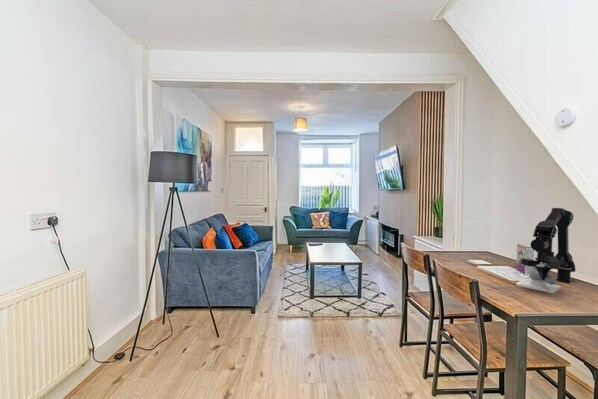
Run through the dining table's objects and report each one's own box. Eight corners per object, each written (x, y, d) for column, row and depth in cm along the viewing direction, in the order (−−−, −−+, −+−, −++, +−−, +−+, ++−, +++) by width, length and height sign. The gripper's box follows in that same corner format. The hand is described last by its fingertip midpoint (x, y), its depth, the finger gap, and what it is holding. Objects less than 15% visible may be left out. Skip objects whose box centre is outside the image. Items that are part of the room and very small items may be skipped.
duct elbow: (526, 275, 178) (526, 268, 178) (542, 276, 177) (542, 269, 177) (542, 284, 163) (543, 276, 163) (560, 285, 162) (560, 277, 162)
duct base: (525, 280, 184) (525, 273, 184) (560, 288, 172) (561, 280, 172) (516, 285, 176) (516, 277, 176) (552, 293, 164) (553, 285, 163)
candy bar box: (515, 269, 208) (516, 243, 208) (524, 269, 207) (525, 243, 207) (523, 274, 198) (525, 246, 197) (533, 274, 196) (534, 247, 196)
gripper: (536, 251, 157) (534, 284, 158) (577, 252, 156) (574, 285, 157) (521, 247, 168) (519, 277, 169) (559, 248, 167) (557, 278, 168)
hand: (542, 279), depth 165 cm, fingers closed
